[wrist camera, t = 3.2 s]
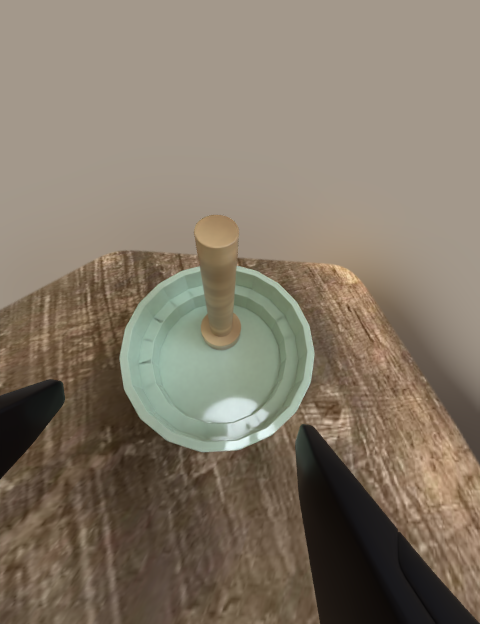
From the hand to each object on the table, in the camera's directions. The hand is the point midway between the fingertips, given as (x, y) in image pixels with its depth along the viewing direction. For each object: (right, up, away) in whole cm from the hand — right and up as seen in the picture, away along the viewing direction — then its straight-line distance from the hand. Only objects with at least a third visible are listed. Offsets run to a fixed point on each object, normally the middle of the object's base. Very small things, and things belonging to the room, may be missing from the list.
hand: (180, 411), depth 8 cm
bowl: (0, -1, +15) cm, 15 cm away
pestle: (0, +2, +15) cm, 15 cm away
